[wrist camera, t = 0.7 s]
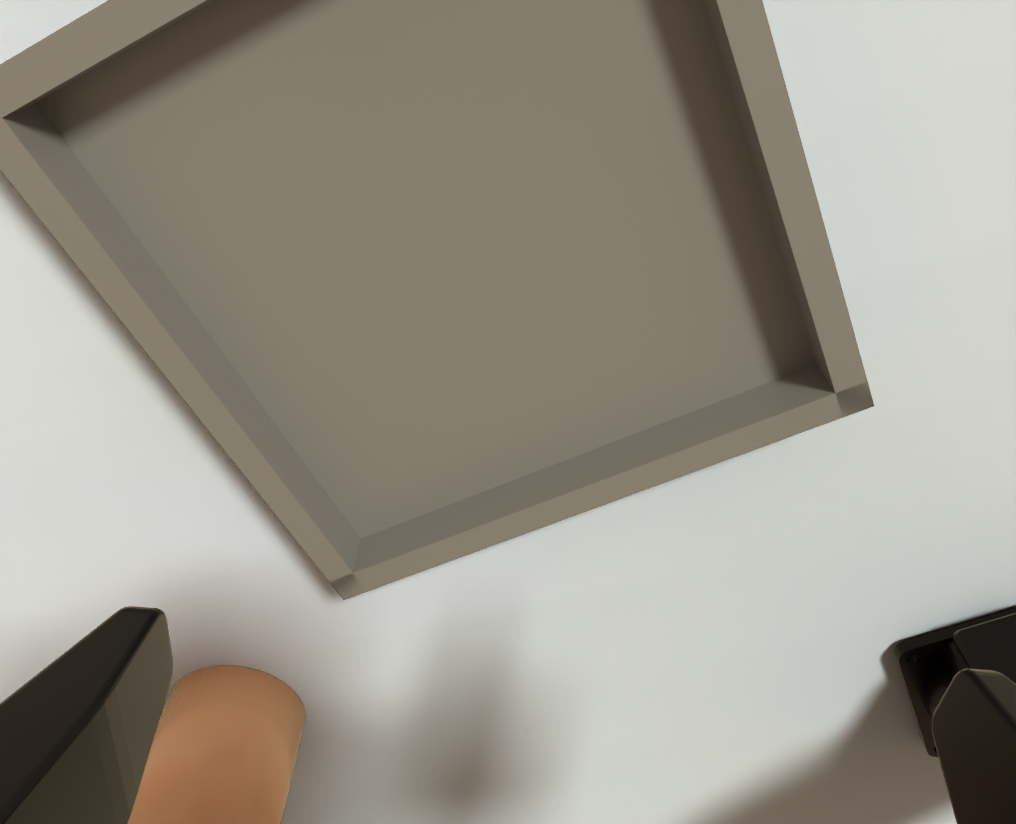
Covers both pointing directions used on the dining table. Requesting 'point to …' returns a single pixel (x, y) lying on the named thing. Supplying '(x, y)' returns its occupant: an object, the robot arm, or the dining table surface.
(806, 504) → the dining table surface
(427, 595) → the dining table surface
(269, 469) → the tray
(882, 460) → the dining table surface
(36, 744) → the robot arm
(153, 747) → the shaker
